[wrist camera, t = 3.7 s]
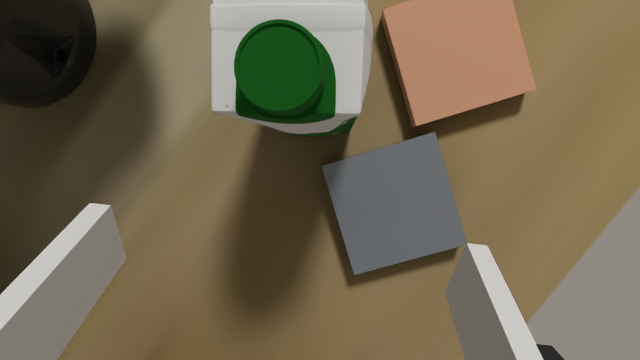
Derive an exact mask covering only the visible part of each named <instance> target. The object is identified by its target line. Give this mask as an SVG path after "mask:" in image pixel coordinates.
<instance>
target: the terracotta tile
mask: <svg viewBox="0 0 640 360" xmlns="http://www.w3.org/2000/svg"><path fill="white" fill-rule="evenodd" d="M381 21H382V25H383V28H384V32H385V35H386V39H387V42H388V45H389V49H390V52H391V56H392V59H393V63H394V66H395V70H396V73H397V77H398V80H399V84H400V87H401V91H402V94H403V98H404V101H405V105H406V108H407V112H408V115H409V118H410V122H411V125H412V128H413V127H416V126H420V125H423V124H426V123H429V122H433V121H436V120H439V119H442V118H446V117H449V116H452V115H456V114H459V113H462V112H465V111H469V110H472V109H475V108H479V107H482V106H485V105H488V104H492V103H495V102H498V101H501V100H505V99H508V98H511V97H515V96H518V95H521V94H524V93H527V92H530V91H533V90H536V86H535V83H534V79H533V75H532V72H531V68H530V64H529V60H528V57H527V53H526V49H525V45H524V42H523V38H522V34H521V30H520V27H519V23H518V19H517V16H516V12H515V8H514V4H513V1H512V0H410V1H407V2H404V3H401V4H398V5H395V6H392V7H389V8H386V9H383V11H382V15H381Z"/></svg>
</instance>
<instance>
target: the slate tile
mask: <svg viewBox="0 0 640 360" xmlns="http://www.w3.org/2000/svg"><path fill="white" fill-rule="evenodd" d="M321 167H322V170H323V173H324V177H325V180H326V183H327V187H328V190H329V193H330V196H331V200H332V203H333V206H334V210H335V213H336V216H337V220H338V223H339V226H340V229H341V233H342V236H343V239H344V243H345V246H346V249H347V253H348V256H349V259H350V263H351V266H352V269H353V272H354V275H356V274H360V273H364V272H367V271H371V270H375V269H379V268H382V267H386V266H390V265H393V264H397V263H401V262H405V261H408V260H412V259H416V258H419V257H423V256H427V255H430V254H434V253H438V252H442V251H445V250H449V249H453V248H456V247H460V246H464V245H466V244H467V242H466V239H465V235H464V232H463V228H462V224H461V221H460V217H459V214H458V210H457V207H456V203H455V200H454V196H453V193H452V189H451V186H450V182H449V179H448V175H447V172H446V168H445V165H444V161H443V158H442V154H441V151H440V147H439V144H438V140H437V137H436V133H435V132H432V133H428V134H425V135H422V136H418V137H415V138H412V139H408V140H405V141H402V142H399V143H395V144H392V145H389V146H385V147H382V148H379V149H375V150H372V151H369V152H365V153H362V154H359V155H356V156H352V157H349V158H346V159H342V160H339V161H336V162H332V163H329V164H326V165H323V166H321Z"/></svg>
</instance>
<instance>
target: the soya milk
mask: <svg viewBox="0 0 640 360" xmlns="http://www.w3.org/2000/svg"><path fill="white" fill-rule="evenodd" d="M210 29H211V106H212V111H213V112H214V113H217V114H221V115H225V116H229V117H233V118H237V119H241V120H245V121H249V122H253V123H257V124H261V125H265V126H268V127H271V128H274V129H277V130H280V131H283V132H285V133H288V134H292V135H298V136H330V135H334V134H338V133H343V132H347V131H350V130H351V128H352V126H353V124H354V122H355V120H356V118H357V116H359V115H360V112H361V108H362V103H363V99H364V96H365V92H366V88H367V84H368V79H369V72H370V64H371V52H372V36H373V25H372V19H371V16H370V13H369V11H368V1H367V0H213V4H212V5H210Z"/></svg>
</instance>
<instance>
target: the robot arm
mask: <svg viewBox="0 0 640 360" xmlns="http://www.w3.org/2000/svg"><path fill="white" fill-rule="evenodd" d="M95 40H96V30H95V21H94V16H93V13H92V9H91V6H90V4H89V2H88V0H0V103H3V104H9V105H16V106H23V107H38V106H43V105H47V104H51V103H53V102H56V101H58V100H60V99H61V98H63V97H65V96H66V95H67V94H69V93H70V92H71V91H72V90H73V89H74V88H75V87H76V86H77V85H78V84H79V83H80V82H81V80H82V79H83V77H84V76H85V74H86V72H87V70H88V68H89V66H90V64H91V61H92V58H93V54H94V49H95ZM125 260H126V256H125V252H124V249H123V245H122V242H121V238H120V235H119V231H118V228H117V225H116V221H115V218H114V214H113V211H112V207H111V205H105V204H95V203H89V204H88V205H87V206H86V207H85V208H84V209H83V210H82V211H81V212H80V213H79V214H78V215H77V216H76V217H75V219H74V220H73V221H72V222H71V223H70V224H69V225H68V226H67V227H66V228H65V229H64V230H63V231H62V232H61V233H60V234H59V235H58V236H57V237H56V238H55V239H54V240H53V241H52V242H51V243H50V244H49V245H48V246H47V247H46V248H45V249H44V250H43V251H42V252H41V253H40V254H39V255H38V256H37V257H36V258H35V260H34V261H33V262H32V263H31V264H30V265H29V266H28V267H27V268H26V269H25V270H24V271H23V272H22V273H21V274H20V275H19V276H18V277H17V278H16V279H15V280H14V281H13V282H12V283H11V284H10V285H9V286H8V287H7V288H6V289H5V290H0V360H57V359H58V358H59V356H60V355H61V353H62V352H63V350H64V349H65V347H66V346H67V344H68V343H69V342H70V340H71V339H72V337H73V336H74V334H75V333H76V331H77V330H78V328H79V327H80V325H81V324H82V323H83V321H84V320H85V318H86V317H87V315H88V314H89V312H90V311H91V309H92V308H93V306H94V305H95V304H96V302H97V301H98V299H99V298H100V296H101V295H102V293H103V292H104V290H105V289H106V287H107V286H108V285H109V283H110V282H111V280H112V279H113V277H114V276H115V274H116V273H117V271H118V270H119V268H120V267H121V266H122V264H123V263H124V261H125ZM445 294H446V298H447V301H448V304H449V307H450V311H451V314H452V317H453V321H454V324H455V327H456V330H457V334H458V337H459V340H460V344H461V347H462V350H463V353H464V357H465V360H564V359H563V358H562V357H561V355H560V354H559V353H558V352H557V351H556V350H555V349H554V348H553V347H552V346H548V345H538V344H536V343H535V342H534V339H533V337H532V335H531V334H530V331H529V329H528V327H527V325H526V323H525V321H524V319H523V317H522V315H521V313H520V311H519V309H518V307H517V305H516V303H515V301H514V299H513V297H512V295H511V293H510V291H509V289H508V287H507V285H506V283H505V281H504V279H503V277H502V275H501V272H500V270H499V268H498V266H497V264H496V262H495V260H494V258H493V256H492V254H491V252H490V250H489V248H488V246H487V245H477V244H468V243H467V244H466V246H465V248H464V251H463V253H462V255H461V257H460V259H459V262H458V264H457V266H456V268H455V270H454V273H453V275H452V277H451V279H450V281H449V284H448V286H447V288H446V290H445Z"/></svg>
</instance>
